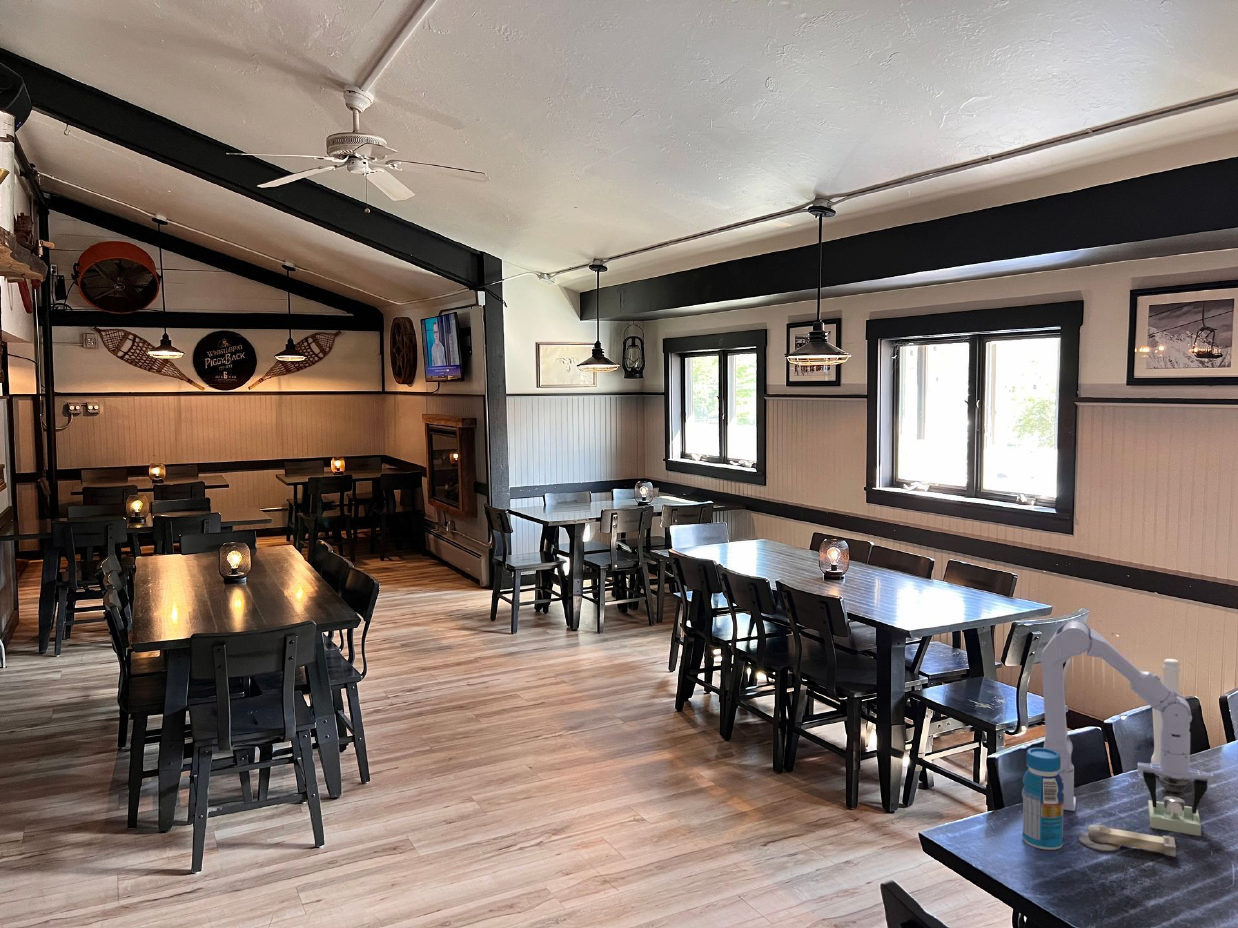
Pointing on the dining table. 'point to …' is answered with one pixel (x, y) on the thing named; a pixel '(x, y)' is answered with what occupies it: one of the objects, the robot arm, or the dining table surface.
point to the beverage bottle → (1043, 800)
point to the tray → (1174, 820)
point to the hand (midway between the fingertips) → (1174, 808)
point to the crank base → (1097, 843)
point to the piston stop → (1173, 808)
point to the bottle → (1172, 683)
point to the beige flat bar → (1132, 839)
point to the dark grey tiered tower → (1173, 786)
